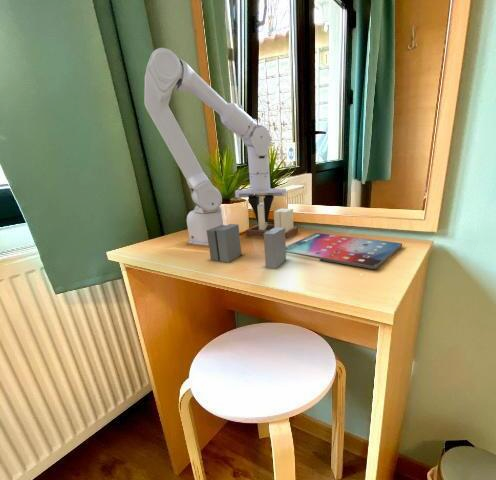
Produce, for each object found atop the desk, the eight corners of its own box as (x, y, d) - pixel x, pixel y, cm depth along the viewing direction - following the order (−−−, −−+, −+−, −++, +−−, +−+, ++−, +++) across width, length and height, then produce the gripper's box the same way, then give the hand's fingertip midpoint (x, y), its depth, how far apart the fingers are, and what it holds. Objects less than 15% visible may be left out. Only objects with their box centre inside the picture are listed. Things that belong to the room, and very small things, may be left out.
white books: (274, 235, 87) (273, 211, 85) (282, 231, 92) (281, 208, 89) (286, 236, 86) (285, 212, 83) (293, 232, 90) (293, 208, 87)
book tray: (246, 237, 90) (245, 230, 89) (259, 230, 96) (259, 223, 96) (286, 240, 85) (286, 233, 84) (298, 233, 91) (297, 226, 91)
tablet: (316, 234, 89) (316, 232, 88) (403, 246, 75) (403, 243, 75) (277, 252, 75) (277, 249, 74) (376, 271, 61) (376, 267, 61)
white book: (259, 229, 89) (257, 205, 86) (261, 225, 93) (259, 202, 90) (265, 229, 89) (263, 205, 86) (267, 225, 93) (265, 202, 90)
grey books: (210, 260, 71) (206, 228, 68) (224, 253, 76) (220, 223, 73) (275, 268, 65) (273, 234, 62) (286, 260, 69) (285, 227, 66)
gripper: (230, 175, 82) (235, 225, 87) (284, 173, 81) (286, 224, 86) (236, 173, 88) (240, 219, 93) (285, 171, 87) (287, 218, 92)
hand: (262, 221), depth 90 cm, fingers closed on white book, 2 cm apart
